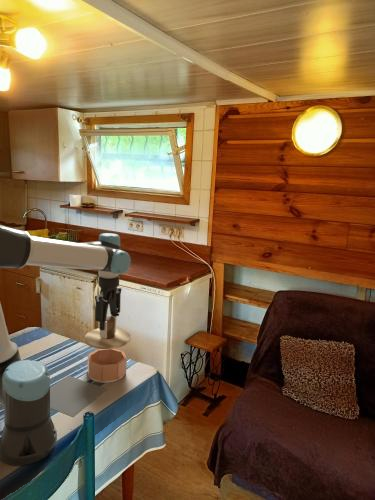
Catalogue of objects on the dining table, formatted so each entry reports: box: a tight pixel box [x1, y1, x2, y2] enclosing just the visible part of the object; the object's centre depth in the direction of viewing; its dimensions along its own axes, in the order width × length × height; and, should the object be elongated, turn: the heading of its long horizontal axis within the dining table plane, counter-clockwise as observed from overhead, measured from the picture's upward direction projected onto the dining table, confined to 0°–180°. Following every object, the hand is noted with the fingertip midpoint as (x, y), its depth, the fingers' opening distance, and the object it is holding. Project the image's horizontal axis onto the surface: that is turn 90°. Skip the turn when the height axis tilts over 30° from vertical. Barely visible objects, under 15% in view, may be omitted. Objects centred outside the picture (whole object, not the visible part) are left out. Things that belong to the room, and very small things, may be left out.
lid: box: [84, 315, 131, 349], centre depth 140 cm, size 17×17×8 cm
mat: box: [50, 375, 108, 418], centre depth 128 cm, size 18×18×1 cm
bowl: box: [86, 348, 128, 384], centre depth 143 cm, size 14×14×7 cm
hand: (107, 334), depth 141 cm, fingers closed on lid, 5 cm apart
